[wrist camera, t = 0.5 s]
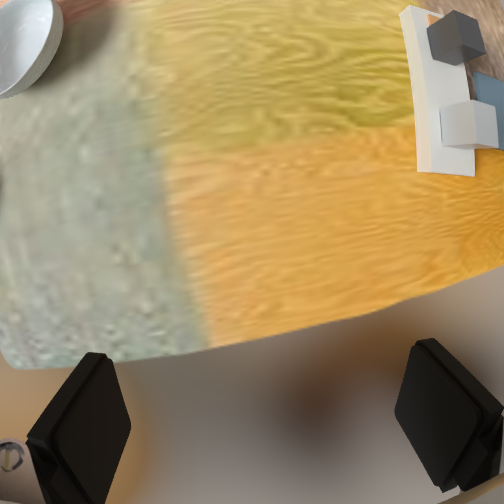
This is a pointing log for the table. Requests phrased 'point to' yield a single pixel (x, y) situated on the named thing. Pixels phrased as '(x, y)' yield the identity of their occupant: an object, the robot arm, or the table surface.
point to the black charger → (455, 39)
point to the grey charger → (469, 125)
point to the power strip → (433, 97)
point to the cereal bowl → (27, 42)
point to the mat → (492, 100)
